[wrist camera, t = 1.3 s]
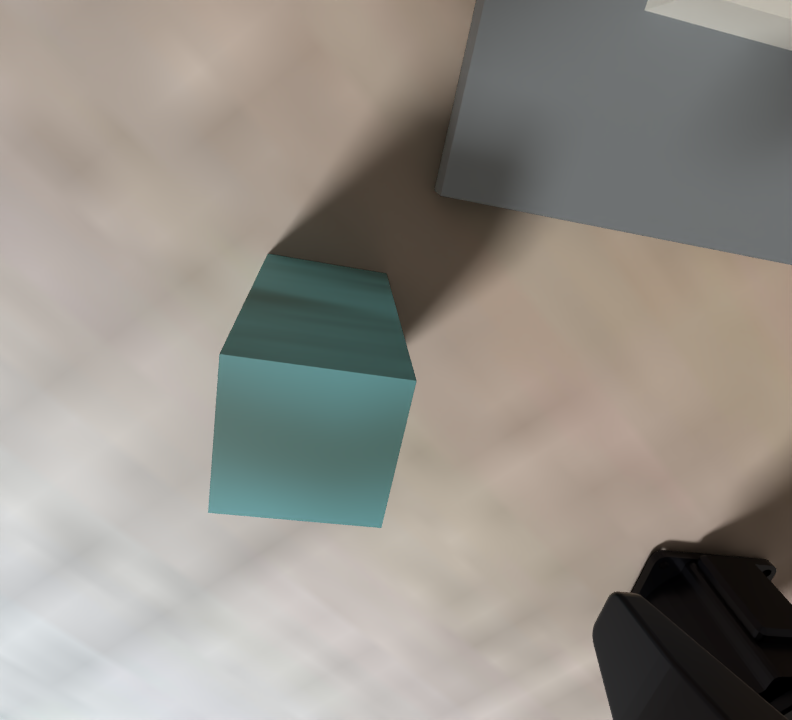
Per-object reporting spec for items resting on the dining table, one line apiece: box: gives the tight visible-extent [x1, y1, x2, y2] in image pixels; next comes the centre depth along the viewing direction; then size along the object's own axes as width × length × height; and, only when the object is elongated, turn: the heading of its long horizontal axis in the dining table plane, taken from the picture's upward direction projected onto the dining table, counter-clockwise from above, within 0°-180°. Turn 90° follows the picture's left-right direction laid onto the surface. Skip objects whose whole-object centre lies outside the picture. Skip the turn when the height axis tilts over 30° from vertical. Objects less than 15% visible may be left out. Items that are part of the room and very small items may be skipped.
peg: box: [208, 254, 416, 528], centre depth 15 cm, size 4×4×8 cm
